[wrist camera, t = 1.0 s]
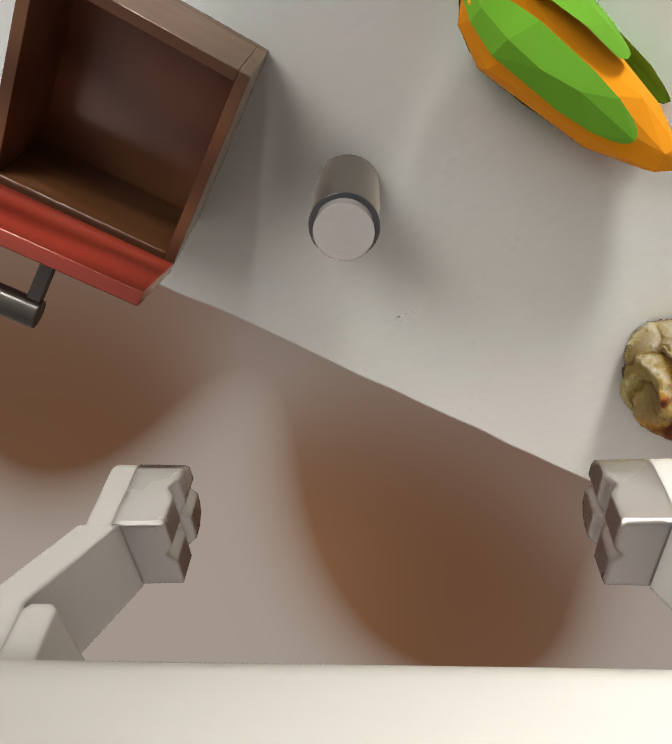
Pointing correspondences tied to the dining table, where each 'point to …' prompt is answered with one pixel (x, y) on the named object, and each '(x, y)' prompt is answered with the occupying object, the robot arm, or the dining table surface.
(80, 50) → the chest
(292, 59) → the dining table surface
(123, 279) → the lid
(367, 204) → the cylinder
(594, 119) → the corn
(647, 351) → the pastry
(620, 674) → the robot arm
